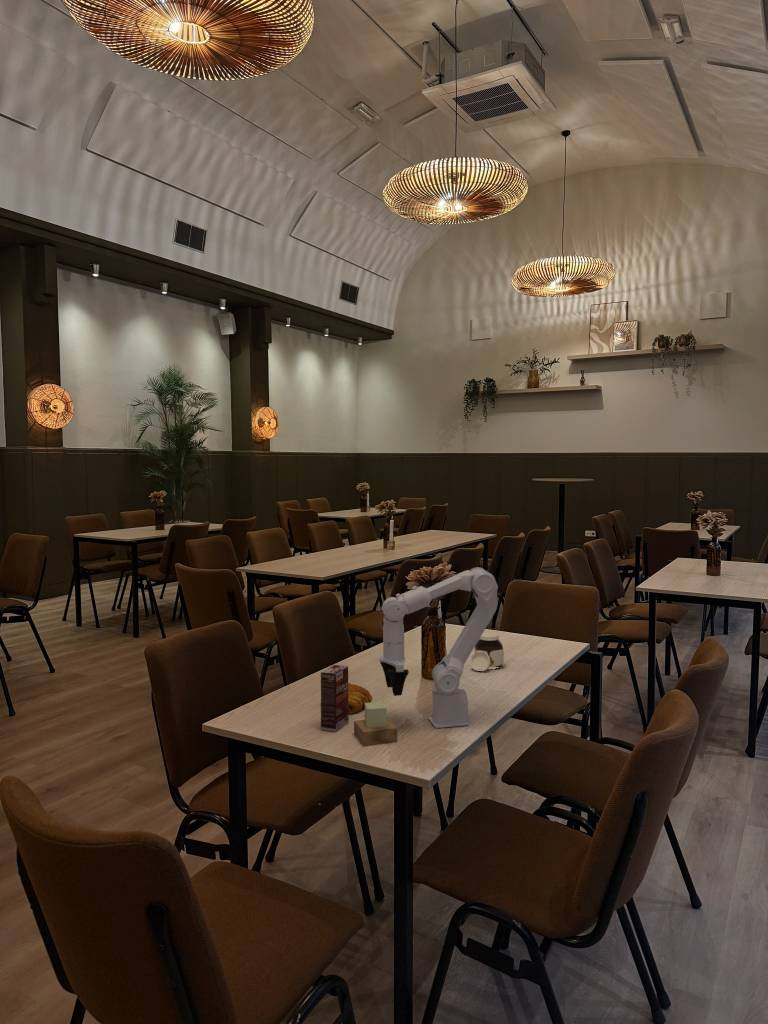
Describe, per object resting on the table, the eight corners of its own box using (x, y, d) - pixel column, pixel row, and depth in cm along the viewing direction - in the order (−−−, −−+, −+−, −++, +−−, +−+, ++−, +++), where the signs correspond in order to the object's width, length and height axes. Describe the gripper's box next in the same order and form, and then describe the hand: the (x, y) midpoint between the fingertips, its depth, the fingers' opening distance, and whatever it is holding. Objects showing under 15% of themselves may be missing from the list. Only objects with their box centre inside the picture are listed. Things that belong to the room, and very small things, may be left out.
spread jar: (501, 664, 258) (501, 632, 257) (506, 673, 246) (506, 639, 246) (468, 664, 258) (467, 632, 257) (471, 673, 247) (471, 639, 246)
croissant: (327, 724, 205) (327, 698, 203) (318, 700, 220) (317, 676, 218) (377, 718, 209) (376, 692, 207) (364, 695, 223) (364, 670, 222)
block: (386, 731, 194) (386, 716, 194) (397, 743, 185) (397, 728, 185) (354, 735, 191) (353, 720, 191) (363, 747, 183) (363, 732, 182)
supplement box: (336, 732, 192) (335, 674, 192) (320, 730, 194) (319, 672, 193) (349, 722, 200) (349, 665, 200) (334, 719, 202) (333, 664, 201)
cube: (383, 720, 191) (383, 701, 191) (386, 727, 186) (386, 708, 186) (364, 721, 190) (364, 702, 190) (367, 728, 185) (367, 709, 185)
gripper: (373, 636, 203) (374, 684, 204) (385, 649, 189) (385, 700, 189) (398, 635, 204) (398, 682, 205) (411, 647, 190) (411, 698, 191)
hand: (394, 690), depth 197 cm, fingers open, 7 cm apart
